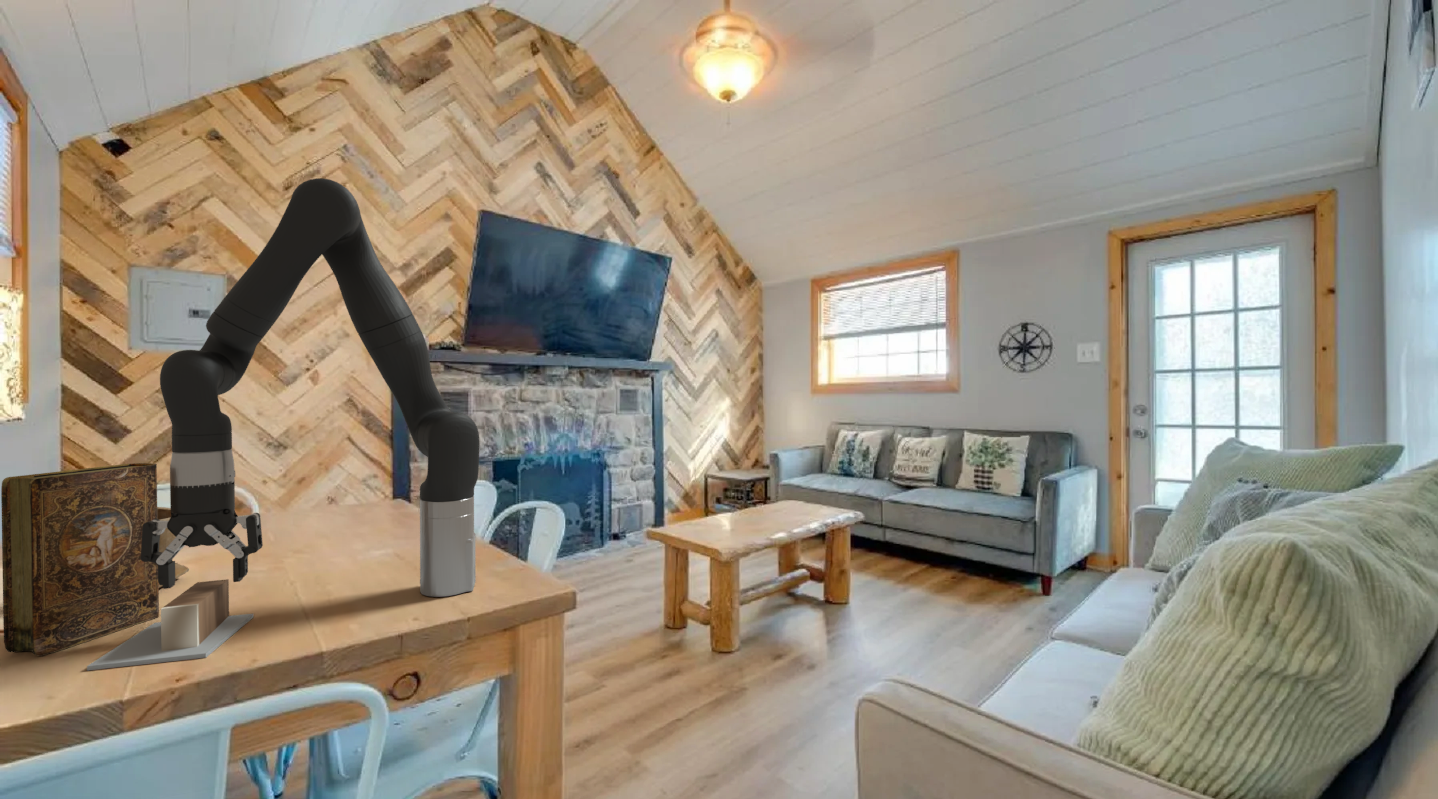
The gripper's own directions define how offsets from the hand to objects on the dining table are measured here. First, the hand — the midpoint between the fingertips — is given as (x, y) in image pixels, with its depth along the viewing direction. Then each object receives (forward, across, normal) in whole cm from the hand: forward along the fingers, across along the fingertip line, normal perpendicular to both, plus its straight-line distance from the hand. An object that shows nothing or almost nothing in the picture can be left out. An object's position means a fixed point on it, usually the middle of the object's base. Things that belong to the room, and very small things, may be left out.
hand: (204, 583), depth 92 cm
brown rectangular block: (+4, 0, +3) cm, 5 cm away
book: (+7, -15, +4) cm, 17 cm away
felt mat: (+7, -2, -4) cm, 8 cm away
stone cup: (+7, -17, +27) cm, 33 cm away
